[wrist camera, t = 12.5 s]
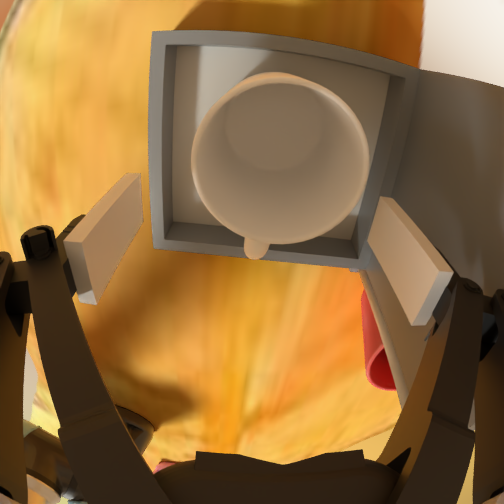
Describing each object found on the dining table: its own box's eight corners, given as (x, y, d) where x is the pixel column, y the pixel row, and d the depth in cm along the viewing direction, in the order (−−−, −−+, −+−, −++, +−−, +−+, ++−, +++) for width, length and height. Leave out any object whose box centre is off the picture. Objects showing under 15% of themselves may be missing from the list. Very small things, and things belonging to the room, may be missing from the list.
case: (166, 240, 30) (86, 453, 12) (169, 35, 19) (-82, 28, 2) (362, 260, 30) (427, 466, 13) (412, 71, 20) (648, 164, 2)
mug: (299, 223, 27) (315, 307, 19) (204, 204, 26) (176, 283, 18) (340, 87, 20) (393, 108, 12) (230, 61, 20) (206, 60, 11)
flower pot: (403, 234, 28) (444, 301, 20) (448, 286, 32) (482, 347, 24) (328, 297, 33) (343, 372, 25) (382, 336, 37) (401, 400, 29)
